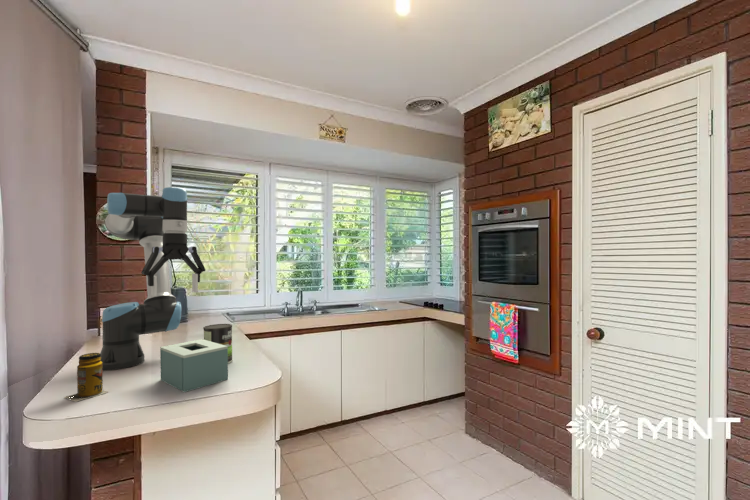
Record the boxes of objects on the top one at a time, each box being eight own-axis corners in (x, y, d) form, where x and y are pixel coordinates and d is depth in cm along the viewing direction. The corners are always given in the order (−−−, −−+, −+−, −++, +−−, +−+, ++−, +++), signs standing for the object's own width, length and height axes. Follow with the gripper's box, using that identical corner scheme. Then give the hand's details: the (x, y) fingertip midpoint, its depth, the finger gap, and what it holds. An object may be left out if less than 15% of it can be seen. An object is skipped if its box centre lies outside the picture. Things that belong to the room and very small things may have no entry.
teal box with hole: (160, 380, 122) (160, 347, 122) (202, 369, 132) (202, 339, 133) (184, 392, 110) (183, 355, 110) (228, 379, 121) (227, 346, 121)
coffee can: (237, 358, 145) (237, 323, 145) (223, 366, 135) (222, 328, 135) (214, 358, 147) (213, 323, 147) (197, 366, 137) (197, 328, 137)
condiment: (108, 392, 111) (108, 353, 112) (75, 402, 104) (75, 360, 104) (96, 388, 115) (96, 350, 115) (63, 398, 107) (63, 357, 108)
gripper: (138, 231, 114) (139, 298, 115) (215, 233, 134) (215, 290, 134) (129, 231, 119) (130, 296, 119) (205, 233, 139) (205, 289, 139)
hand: (175, 293), depth 127 cm, fingers open, 13 cm apart
